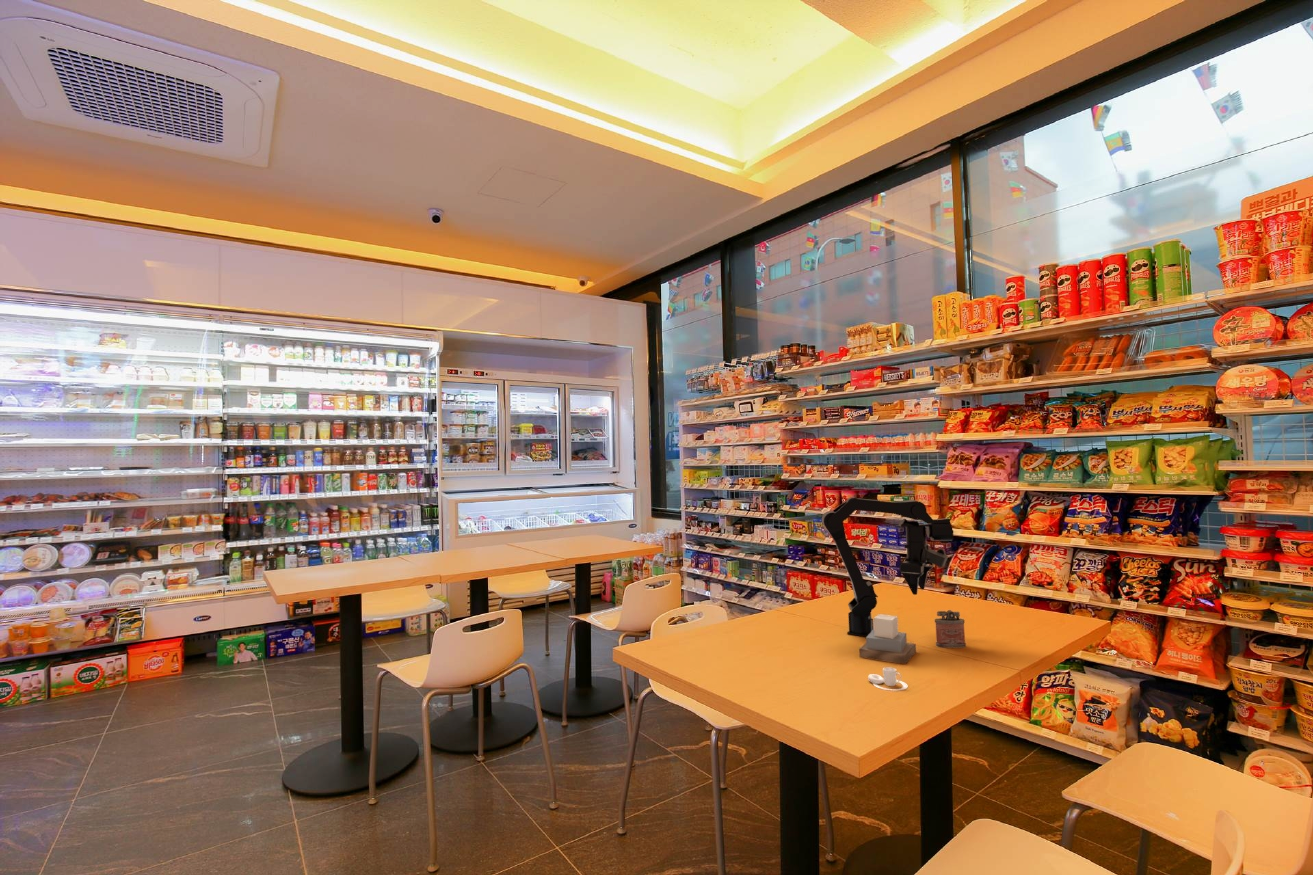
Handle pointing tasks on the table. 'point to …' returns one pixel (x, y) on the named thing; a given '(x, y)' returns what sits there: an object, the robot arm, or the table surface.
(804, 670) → the table surface
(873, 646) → the top block
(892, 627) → the cube
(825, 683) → the table surface
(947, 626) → the lighter
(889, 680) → the teacup and saucer
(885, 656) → the base block
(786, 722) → the table surface
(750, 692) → the table surface
